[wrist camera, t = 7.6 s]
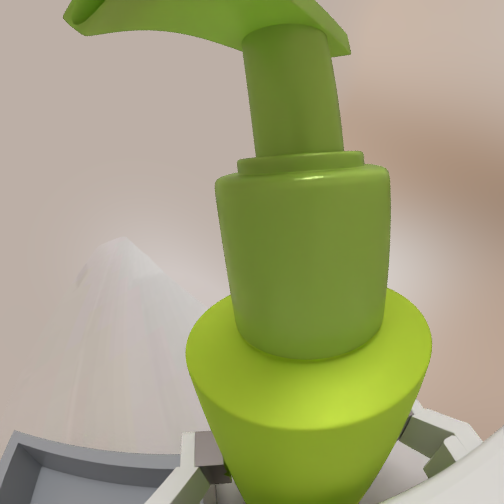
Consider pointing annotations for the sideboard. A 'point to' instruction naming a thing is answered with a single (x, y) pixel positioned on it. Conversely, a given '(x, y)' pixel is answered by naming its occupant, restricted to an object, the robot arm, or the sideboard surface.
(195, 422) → the sideboard surface
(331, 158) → the soap dispenser
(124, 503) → the dish
